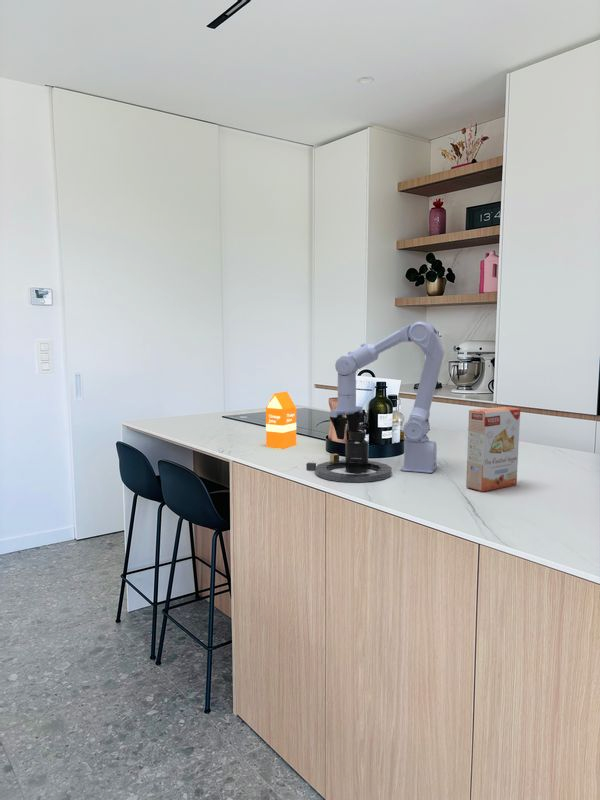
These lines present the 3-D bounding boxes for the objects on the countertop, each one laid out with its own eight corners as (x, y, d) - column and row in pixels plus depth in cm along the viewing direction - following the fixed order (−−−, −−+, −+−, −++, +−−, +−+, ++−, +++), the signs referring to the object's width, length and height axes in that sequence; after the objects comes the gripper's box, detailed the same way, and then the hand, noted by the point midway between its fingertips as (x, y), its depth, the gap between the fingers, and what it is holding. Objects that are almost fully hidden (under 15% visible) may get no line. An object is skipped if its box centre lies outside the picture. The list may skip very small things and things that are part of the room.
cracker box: (483, 493, 149) (485, 411, 146) (465, 488, 154) (467, 409, 151) (518, 485, 156) (521, 407, 154) (500, 480, 161) (502, 405, 159)
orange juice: (296, 445, 217) (296, 391, 214) (283, 449, 209) (282, 393, 207) (279, 443, 221) (278, 391, 219) (265, 447, 213) (265, 392, 211)
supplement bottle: (353, 474, 170) (353, 433, 168) (341, 470, 176) (341, 430, 174) (372, 472, 173) (373, 432, 171) (360, 467, 179) (360, 428, 177)
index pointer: (316, 469, 176) (316, 463, 176) (313, 470, 175) (313, 464, 175) (308, 468, 177) (308, 462, 177) (306, 470, 176) (306, 463, 176)
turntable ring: (407, 475, 167) (407, 461, 167) (345, 485, 156) (345, 471, 155) (359, 461, 186) (359, 449, 186) (301, 470, 174) (301, 457, 174)
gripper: (349, 392, 190) (349, 433, 191) (322, 395, 179) (322, 439, 180) (368, 393, 185) (367, 435, 187) (340, 397, 174) (340, 441, 176)
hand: (346, 437), depth 183 cm, fingers open, 6 cm apart
